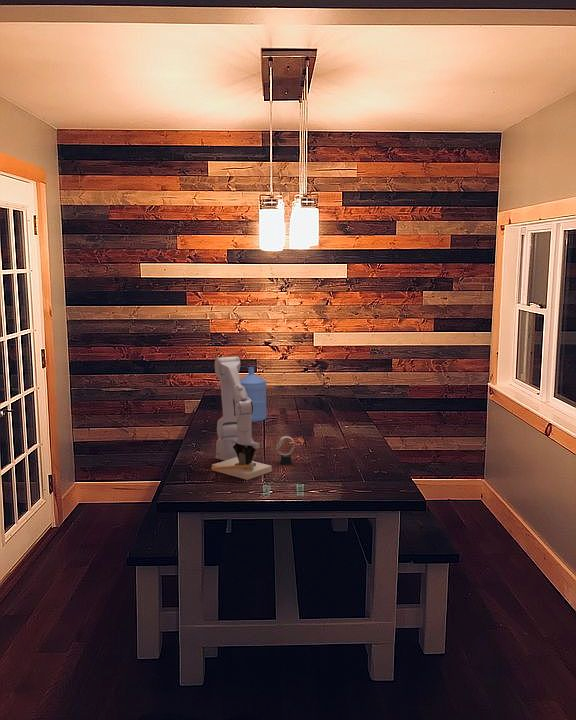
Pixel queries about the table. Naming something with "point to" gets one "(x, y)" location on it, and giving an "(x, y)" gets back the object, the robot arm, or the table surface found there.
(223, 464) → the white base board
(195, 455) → the table surface
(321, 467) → the table surface
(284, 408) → the table surface
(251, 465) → the orange long bar
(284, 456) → the watch
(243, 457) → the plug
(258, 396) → the water jug
